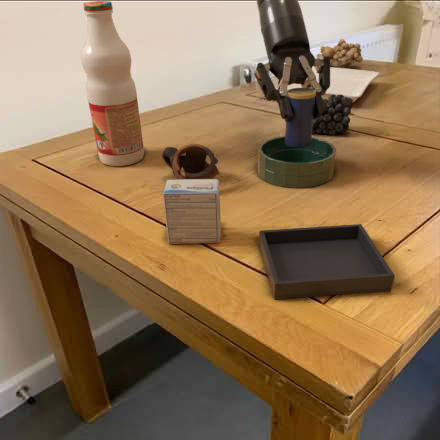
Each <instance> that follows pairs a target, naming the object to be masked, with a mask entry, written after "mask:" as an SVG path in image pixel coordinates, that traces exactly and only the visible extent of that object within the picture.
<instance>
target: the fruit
mask: <svg viewBox="0 0 440 440" xmlns="http://www.w3.org/2000/svg"><path fill="white" fill-rule="evenodd" d="M323 104H324V111H323V113H322V115H321V116H320V118H316V119H315V118H313V129H312V135H314V134H316V133H317V134H322V135H326V134H328V135H329V136H335V135H336V134H342V135H343V134H346V133H348V131H349V129H350V125H349V124H350V123H351V117H350V116H356V114H355V113H352V108H353V105H354V102H353V100H352V99H351V98H347V97H344V96H343V95H341V94H339V95H338V96H335V95H334V94H333V95H331V96H330V97H329V98H328V100H327V99H324V100H323ZM349 115H350V116H349Z"/></svg>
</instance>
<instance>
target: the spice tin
mask: <svg viewBox="0 0 440 440" xmlns="http://www.w3.org/2000/svg"><path fill="white" fill-rule="evenodd" d="M287 96H288V97H289V101H290V105H291V109H292V114H293V117H292V119H291V121H290V122H285V132H284V136H285V144H286V145H287V146H290V147H295V148H302V147H307V146H309V145H311V141H312V137H313V134H312V129H313V118H314V107H315V96H316V91H315V90H314V89H310V88H293V89H290V90H288V91H287Z"/></svg>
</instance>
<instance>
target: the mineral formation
mask: <svg viewBox="0 0 440 440" xmlns="http://www.w3.org/2000/svg"><path fill="white" fill-rule="evenodd" d="M319 50H320V52H319V53H317V54H316V59H324V57H329V58H330V67H334V68H346V67H349V66H350V65H351V63H352V64H354V65H355V64H356V63H358V64H361V63H362V62H363V61H364V58H363V56H362V48H361V44H360V43H353V42H351V43H349V42H347V41H346V40H345V39H343V38H341V39H339V40H338V43H337V45H334V46H333V47H332V46H328V45H326V46H323V45H322V46H320V48H319Z"/></svg>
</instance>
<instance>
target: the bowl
mask: <svg viewBox="0 0 440 440" xmlns="http://www.w3.org/2000/svg"><path fill="white" fill-rule="evenodd" d="M336 154H337V148H336V147H335V145H334V144H333V143H331V142H329V141H327V140H325V139H322V138H319V137H314V136H312V141H311V145H309V146H307V147H302V148H295V147H290V146H287V145H286V144H285V135H282V136H277V137H272V138H269V139H267V140H265V141H263V142H261V143H260V144H259V146H258V148H257V174H258V176H259V178H260V179H262V181H264V182H266V183H269V184H271V185H273V186H279V187H282V188H292V189H304V188H307V189H308V188H313V187H317V186H322V185H324V184H326V183H328V182H329V181H330V180H331V179H332V178H333V177H334V171H335V163H336V156H337V155H336Z"/></svg>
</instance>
